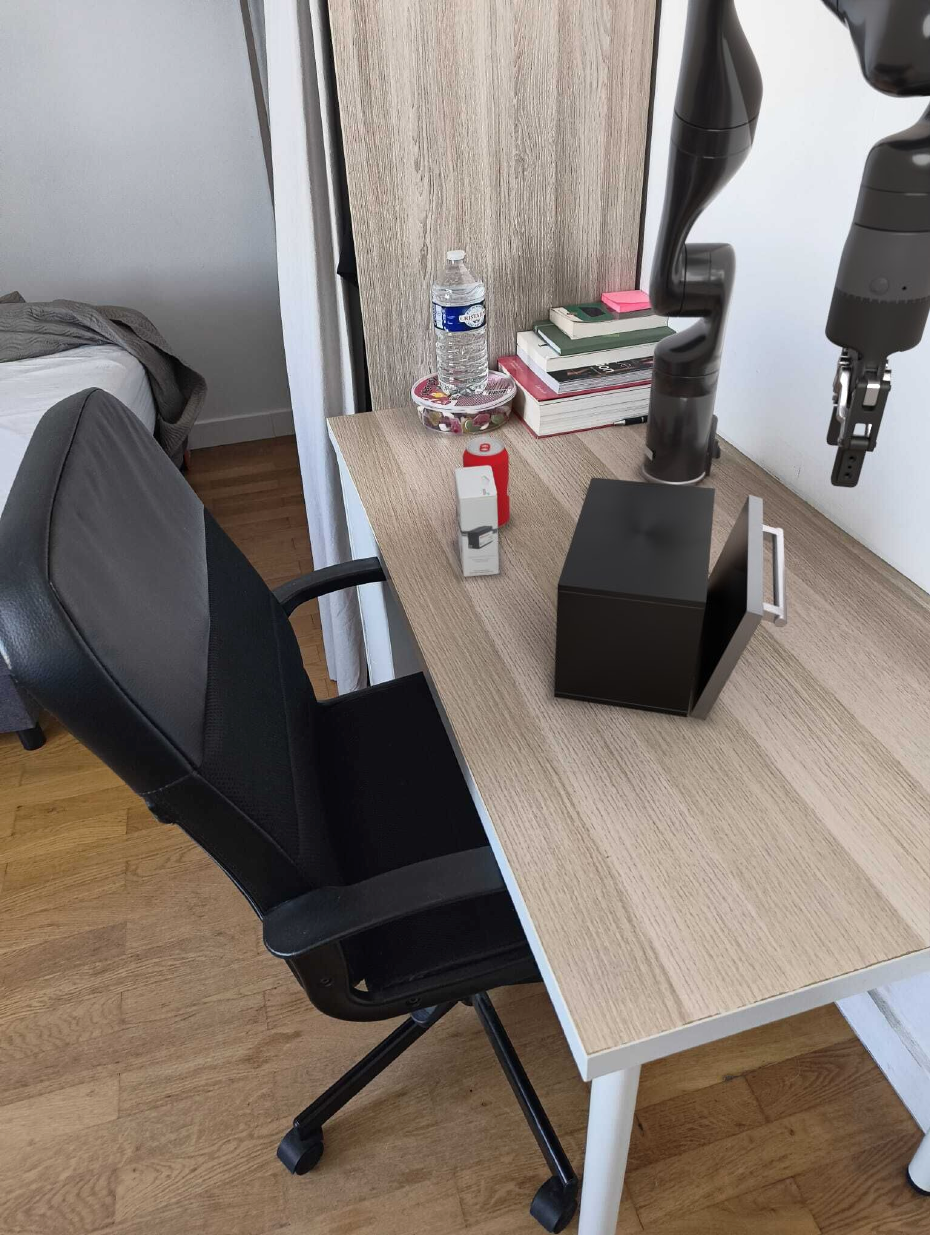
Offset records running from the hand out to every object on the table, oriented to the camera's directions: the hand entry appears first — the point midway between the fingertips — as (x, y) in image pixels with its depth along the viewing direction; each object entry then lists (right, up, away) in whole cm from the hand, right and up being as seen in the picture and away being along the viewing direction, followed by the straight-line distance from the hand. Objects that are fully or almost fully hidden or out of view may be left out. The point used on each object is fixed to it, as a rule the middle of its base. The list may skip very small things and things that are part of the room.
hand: (840, 463), depth 78 cm
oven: (-16, -17, +19) cm, 30 cm away
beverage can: (-32, -1, +42) cm, 53 cm away
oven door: (-6, -19, +17) cm, 26 cm away
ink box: (-33, -6, +35) cm, 48 cm away
